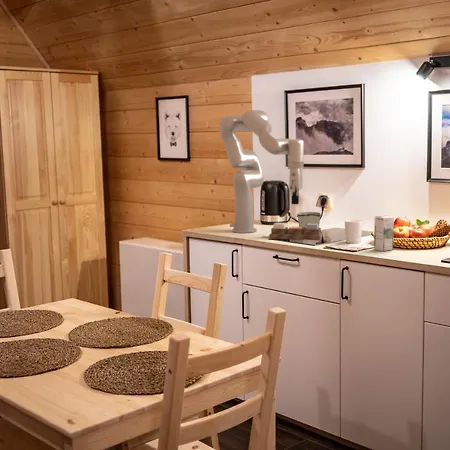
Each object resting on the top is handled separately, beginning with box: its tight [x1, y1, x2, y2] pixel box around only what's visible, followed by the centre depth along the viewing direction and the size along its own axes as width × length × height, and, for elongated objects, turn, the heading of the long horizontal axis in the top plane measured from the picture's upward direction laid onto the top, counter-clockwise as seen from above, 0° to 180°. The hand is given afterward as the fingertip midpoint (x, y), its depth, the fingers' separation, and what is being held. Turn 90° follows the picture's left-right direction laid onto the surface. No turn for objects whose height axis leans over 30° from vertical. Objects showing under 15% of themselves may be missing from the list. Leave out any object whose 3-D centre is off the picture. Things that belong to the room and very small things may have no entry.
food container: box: [296, 211, 322, 229], centre depth 349 cm, size 12×6×10 cm, turn 84°
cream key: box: [273, 222, 287, 229], centre depth 333 cm, size 5×5×3 cm
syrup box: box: [373, 215, 395, 252], centre depth 291 cm, size 6×6×14 cm
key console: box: [268, 226, 323, 241], centre depth 331 cm, size 24×10×5 cm, turn 74°
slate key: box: [307, 223, 320, 229], centre depth 328 cm, size 5×5×3 cm
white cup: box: [344, 219, 363, 244], centre depth 313 cm, size 8×8×10 cm
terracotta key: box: [289, 226, 302, 229], centre depth 331 cm, size 5×5×3 cm
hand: (295, 204), depth 329 cm, fingers closed
